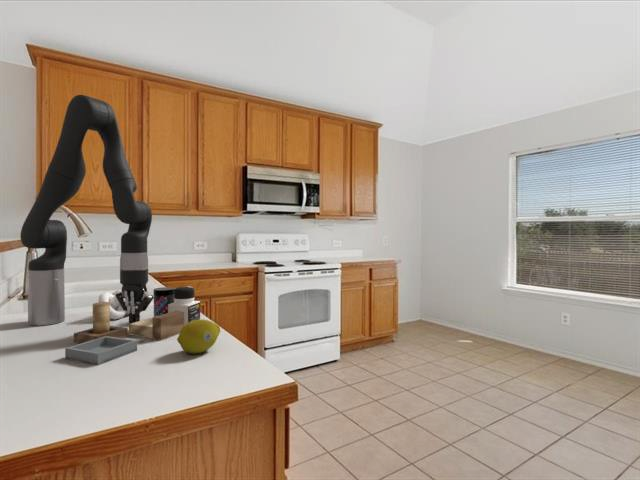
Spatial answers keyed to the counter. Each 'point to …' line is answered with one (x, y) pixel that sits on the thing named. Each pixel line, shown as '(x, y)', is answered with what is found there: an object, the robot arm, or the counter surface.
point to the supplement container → (162, 300)
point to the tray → (100, 350)
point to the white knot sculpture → (113, 305)
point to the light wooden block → (141, 328)
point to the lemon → (198, 336)
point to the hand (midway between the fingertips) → (134, 325)
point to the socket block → (89, 335)
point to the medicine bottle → (185, 304)
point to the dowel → (101, 317)
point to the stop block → (167, 325)
